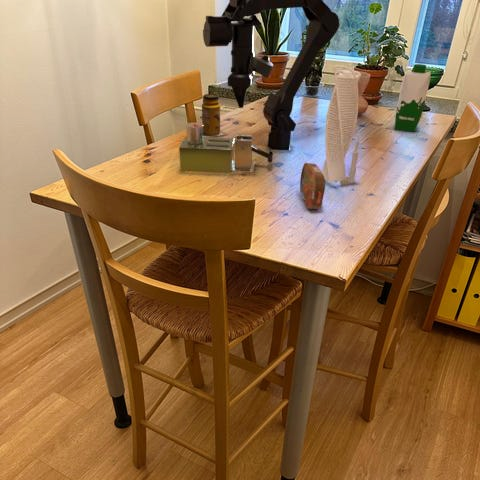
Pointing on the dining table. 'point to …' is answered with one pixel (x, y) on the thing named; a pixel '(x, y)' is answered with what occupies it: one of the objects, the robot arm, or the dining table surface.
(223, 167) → the toaster
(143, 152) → the dining table surface
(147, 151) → the dining table surface
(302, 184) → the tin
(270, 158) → the toaster lever
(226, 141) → the toaster slots
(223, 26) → the robot arm
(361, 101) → the ceramic jug
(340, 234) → the dining table surface
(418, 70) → the milk carton
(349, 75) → the skyscraper
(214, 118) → the condiment
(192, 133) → the translucent cup
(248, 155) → the lever bracket
